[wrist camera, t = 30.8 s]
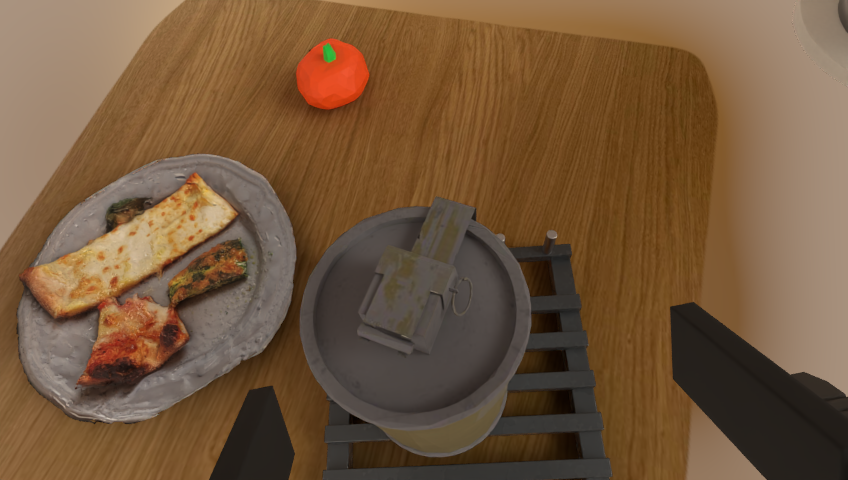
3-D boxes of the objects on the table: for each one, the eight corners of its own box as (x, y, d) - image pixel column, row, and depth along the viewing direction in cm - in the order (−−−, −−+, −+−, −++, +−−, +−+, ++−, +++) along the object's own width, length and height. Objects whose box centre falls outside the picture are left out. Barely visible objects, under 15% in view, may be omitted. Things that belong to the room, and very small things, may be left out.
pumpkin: (291, 110, 55) (270, 65, 49) (329, 59, 58) (313, 11, 52) (347, 131, 53) (332, 87, 47) (384, 77, 56) (374, 29, 50)
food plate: (65, 481, 40) (31, 480, 37) (9, 256, 50) (-22, 240, 46) (345, 312, 44) (335, 298, 41) (243, 135, 54) (229, 113, 51)
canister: (480, 482, 35) (489, 469, 17) (345, 424, 37) (230, 361, 20) (526, 336, 39) (571, 204, 21) (402, 293, 42) (349, 142, 24)
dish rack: (565, 256, 45) (576, 226, 40) (616, 548, 35) (640, 558, 30) (340, 271, 46) (323, 244, 41) (328, 558, 36) (304, 568, 31)
